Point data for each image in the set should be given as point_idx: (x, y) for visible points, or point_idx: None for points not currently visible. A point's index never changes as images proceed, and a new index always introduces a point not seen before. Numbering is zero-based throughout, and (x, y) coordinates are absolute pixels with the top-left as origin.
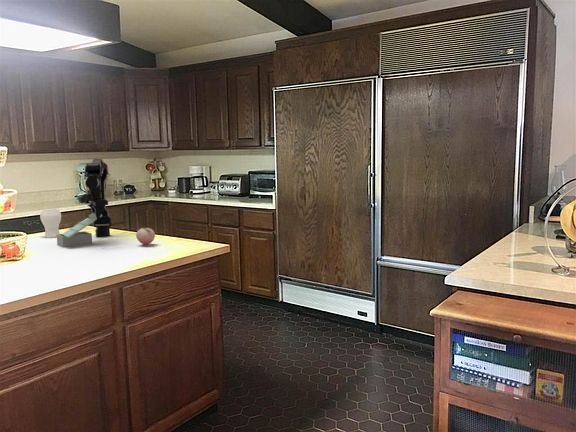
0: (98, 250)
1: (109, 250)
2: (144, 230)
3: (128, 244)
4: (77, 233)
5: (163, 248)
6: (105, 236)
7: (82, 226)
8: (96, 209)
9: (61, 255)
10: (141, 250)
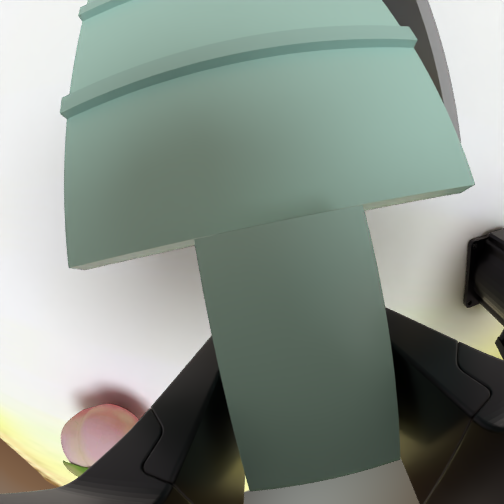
0: (58, 189)
1: (41, 249)
2: (68, 457)
3: (178, 363)
4: (430, 68)
5: (52, 421)
6: (474, 279)
7: (100, 65)
8: (101, 487)
9: (32, 3)
10: (24, 363)
